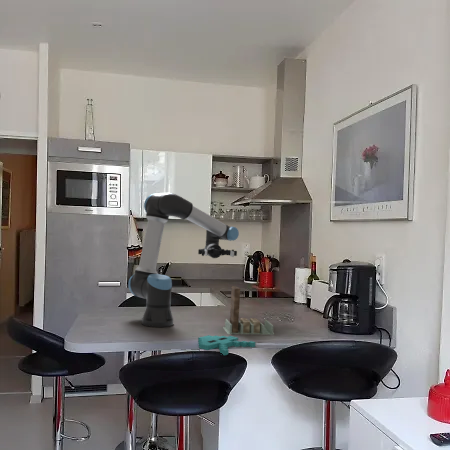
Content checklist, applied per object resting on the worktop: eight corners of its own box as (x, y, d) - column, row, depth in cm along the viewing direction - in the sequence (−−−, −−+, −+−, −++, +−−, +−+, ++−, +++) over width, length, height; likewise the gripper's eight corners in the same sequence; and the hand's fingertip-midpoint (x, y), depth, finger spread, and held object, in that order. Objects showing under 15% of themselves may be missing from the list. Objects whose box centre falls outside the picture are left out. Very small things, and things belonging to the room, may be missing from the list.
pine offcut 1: (242, 332, 211) (243, 321, 211) (239, 328, 218) (240, 318, 218) (249, 332, 211) (249, 321, 211) (245, 328, 219) (246, 318, 219)
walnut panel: (232, 332, 210) (234, 288, 210) (229, 328, 218) (231, 286, 218) (237, 332, 210) (240, 288, 210) (234, 328, 218) (236, 286, 218)
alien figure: (255, 347, 192) (218, 337, 205) (255, 342, 192) (218, 332, 205) (224, 356, 177) (186, 345, 189) (224, 350, 177) (187, 340, 189)
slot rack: (227, 336, 207) (227, 324, 207) (222, 329, 220) (223, 318, 220) (274, 336, 210) (275, 325, 210) (267, 329, 223) (268, 319, 223)
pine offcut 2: (253, 332, 211) (253, 321, 211) (249, 328, 219) (250, 318, 219) (259, 332, 212) (260, 322, 212) (255, 328, 220) (256, 318, 220)
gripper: (236, 258, 256) (243, 262, 235) (191, 256, 252) (194, 260, 231) (236, 245, 256) (244, 247, 235) (191, 243, 252) (195, 245, 231)
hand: (220, 253), depth 233 cm, fingers open, 13 cm apart
